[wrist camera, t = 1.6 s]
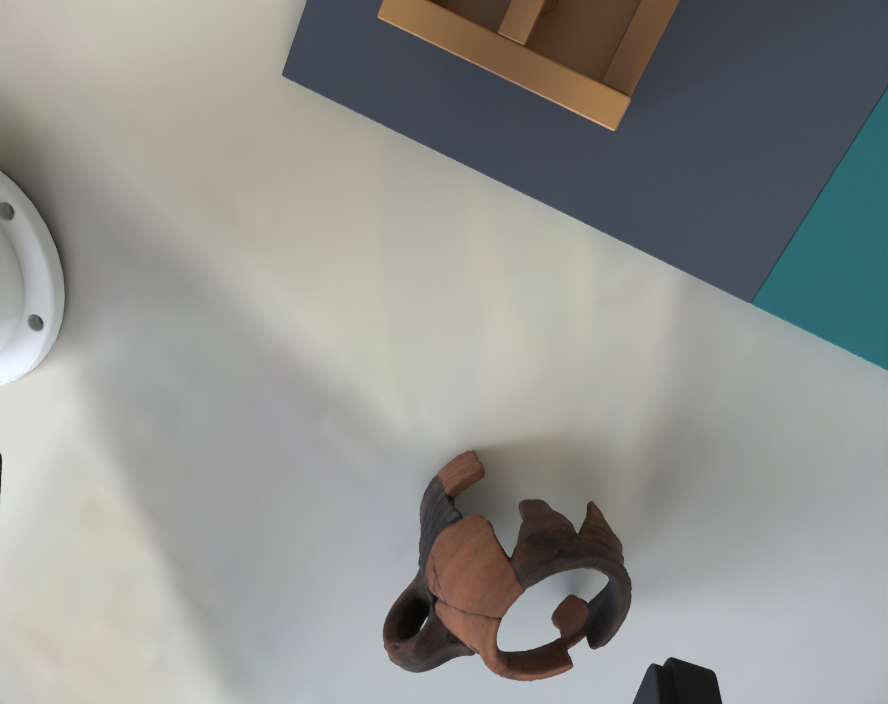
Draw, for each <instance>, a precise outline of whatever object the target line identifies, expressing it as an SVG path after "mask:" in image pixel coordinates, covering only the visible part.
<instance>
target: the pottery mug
mask: <svg viewBox="0 0 888 704" xmlns="http://www.w3.org/2000/svg"><path fill="white" fill-rule="evenodd" d="M484 476H485V469H484V467H483V466H482V464H481V462H479V461H478V459H477V456H476V454H475V452H474V451H467V452H465V453H463V454H461V455H459V456H457V457H456V458H455V459H453V460H452V461H451V462H449V463H448V464H447V465H446V466H445V467H444V468H443V469H442V470H441V471H440V472H439V473H438V474H437V476H435V477H434V478H433V480H432V481H431V482H430V484H429V486H428V488H427V489H426V490H425V493H424V496H423V499H422V502H421V506H420V523H421V537H420V542H419V552H420V556H419V562H418V564H419V566H420V568H419V571H418V573H417V575H416V577H415V579H414V580H413V581H412V583H411V584H410V585H409V586H408V587H407V588H406V590H404V591H403V592H402V594H401V595H400V596H399V598H398V599H397V600H396V602H395V603H394V604H393V606H392V608H391V609H390V611H389V613H388V616H387V618H386V620H385V623H384V628H383V640H384V648H385V650H386V651H387V652H388V656H389V658H390V660H391V661H392V662H393V663H395V664H396V665H398V666H400V667H401V668H403V669H404V670H407V671H410V672H415V673H419V672H425V671H428V670H431V669H434V668H436V667H438V666H440V665H442V664H443V663H445V662H447V661H449V660H451V659H453V658H455V657H459V656H472V655H474V654H475V653H477V654H480V655H481V658H482V659H483V661H484V663H485V665H486V666H487V667H488V668H489V669H490V670H491V671H492V672H494V673H495V674H498V675H500V676H501V677H504V678H507V679H512V680H518V681H533V680H537V679H539V680H541V679H544V678H549V677H552V676H555V675H559V674H561V673H564V672H566V671H568V670H569V669H571V668H572V667H573V663H572V660H571V657H570V656H569V654H568V651H567V650H568V649H569V648H571V647H572V646H574V645H576V644H577V643H578V642H580V641H581V640H582V639H583V638H584V637H585V636H586V638H587V641H588V644H589V646H590V648H591V649H594V650H595V649H597V648H599V647H602V646H605V645H606V644H607V643H608V642H609V641H610V640H611V639H612V637H614V635H615V634H616V633H617V631H618V630H619V628H620V626H621V625H622V623H623V622H624V620H625V618H626V615H627V613H628V611H629V608H630V604H631V597H632V596H631V590H632V587H631V579H630V577H629V575H628V573H627V571H626V569H625V567H624V566H623V565H624V558H623V555H622V544H621V543H620V540H619V539H618V538H617V536H616V535H615V534H614V533H613V531H612V530H611V528H610V527H609V525H608V523H607V522H606V520H605V519H604V517H603V514H602V513H601V511H600V510H599V509H598V507H597V506H596V505H595V503H594V502H592V501H590V502H589V503H588V504H587V513H586V518H585V520H584V522H583V524H582V526H581V528H580V531H579V533H578V534H577V533H576V531H575V529H574V526H573V524H572V523H571V522H570V521H569V520H568V519H567V518H566V517H565V516H563V515H562V514H560V513H558V512H556V511H554V510H552V509H551V508H550V506H549V505H548V504H547V503H546V502H545V501H543V500H538V499H533V500H530V499H528V500H523V501H521V502H520V503H519V510H520V514H521V517H522V519H523V522H522V524H521V526H520V531H519V536H518V541H517V544H516V547H515V548H514V551H513V554H512V557H511V558H510V557H509V556H508V555H507V554H506V552H505V551H504V549H503V548H502V546H501V544H500V543H499V541H498V539H497V537H496V535H495V533H494V529H493V526H492V524H491V523H490V521H489V520H487V519H485V518H484V517H482V516H481V515H477V514H473V515H470V516H467V517H466V518H463V516H462V514H461V513H460V512H459V511H458V510H457V508H456V507H455V506H454V498H455V497H457V496H458V495H459V494H460V493H461V492H462V491H463V490H465V489H466V488H467V487H469V486H470V485H472V484H473V483H475V482H476V481H478V480H480V479H481V478H483V477H484ZM579 568H586V569H591V568H592V569H595V570H597V571H601V572H602V573H603V574H605V575H607V576H608V578H609V582H608V584H607V585H606V586H605V588H604V589H603V590H602V591H601V592H600V593H599V594H597V595H596V597H595V598H593V599H592V600H591V601H590V602H589V603H587V602H586V601H585V600H583V599H581V598H578V597H577V596H575V595H572V594H571V595H569V596H568V597H566V598H565V599H564V600H563V601H562V602H561V603H560V604H559V606H558V607H557V609H556V610H555V611H554V613H553V614H552V618H551V619H552V622H553V624H554V626H555V627H556V628H558V629H559V630H560V634H561V638H558V639H556V640H555V641H553V642H551V643H549V644H546V645H544V646H541V647H538V648H535V649H532V650H527V651H515V652H504V651H501V650H499V648H498V647H497V641H496V639H497V632H498V628H499V625H500V623H501V620H502V617H503V616H504V615H505V614H506V612H507V610H508V609H509V608H510V606H511V605H512V604H513V603H514V602H515V601H516V600H517V598H518V597H519V596H520V595H522V594H523V593H524V592H525V590H526V589H527V588H528V587H531V586H533V585H534V584H536V583H538V582H539V581H541V580H543V579H545V578H547V577H549V576H551V575H554V574H556V573H559V572H563V571H568V570H572V569H579ZM427 617H428V619H427V621H426V623H425V625H424V627H423V628H422V629H421V627H422V625H423V623H424V621H425V620H426V618H427ZM420 629H421V630H420Z"/></svg>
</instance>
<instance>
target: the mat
mask: <svg viewBox="0 0 888 704" xmlns="http://www.w3.org/2000/svg"><path fill="white" fill-rule="evenodd" d="M382 2H383V0H307V2H306V5H305V8H304V11H303V14H302V17H301V20H300V23H299V26H298V29H297V32H296V35H295V38H294V41H293V43H292V46H291V49H290V52H289V55H288V58H287V61H286V64H285V67H284V70H283V73H282V76H283V77H285V78H287V79H289V80H292V81H294V82H296V83H298V84H300V85H302V86H304V87H306V88H308V89H310V90H312V91H314V92H316V93H318V94H320V95H322V96H324V97H326V98H329V99H331V100H333V101H335V102H337V103H339V104H341V105H343V106H345V107H347V108H349V109H351V110H353V111H355V112H357V113H359V114H361V115H363V116H366V117H368V118H370V119H372V120H374V121H376V122H378V123H380V124H382V125H384V126H386V127H388V128H390V129H392V130H394V131H396V132H398V133H400V134H403V135H405V136H407V137H409V138H411V139H413V140H415V141H417V142H419V143H421V144H423V145H425V146H427V147H429V148H431V149H433V150H435V151H437V152H440V153H442V154H444V155H446V156H448V157H450V158H452V159H454V160H456V161H458V162H460V163H462V164H464V165H466V166H468V167H470V168H472V169H474V170H477V171H479V172H481V173H483V174H485V175H487V176H489V177H491V178H493V179H495V180H497V181H499V182H501V183H503V184H505V185H507V186H509V187H511V188H514V189H516V190H518V191H520V192H522V193H524V194H526V195H528V196H530V197H532V198H534V199H536V200H538V201H540V202H542V203H544V204H546V205H548V206H551V207H553V208H555V209H557V210H559V211H561V212H563V213H565V214H567V215H569V216H571V217H573V218H575V219H577V220H579V221H581V222H583V223H585V224H588V225H590V226H592V227H594V228H596V229H598V230H600V231H602V232H604V233H606V234H608V235H610V236H612V237H614V238H616V239H618V240H620V241H622V242H625V243H627V244H629V245H631V246H633V247H635V248H637V249H639V250H641V251H643V252H645V253H647V254H649V255H651V256H653V257H655V258H657V259H659V260H662V261H664V262H666V263H668V264H670V265H672V266H674V267H676V268H678V269H680V270H682V271H684V272H686V273H688V274H690V275H692V276H694V277H696V278H699V279H701V280H703V281H705V282H707V283H709V284H711V285H713V286H715V287H717V288H719V289H721V290H723V291H725V292H727V293H729V294H731V295H733V296H736V297H738V298H740V299H742V300H744V301H746V302H748V303H751V304H752V305H754V306H756V307H758V308H760V309H762V310H764V311H766V312H768V313H771V314H773V315H775V316H777V317H779V318H781V319H783V320H785V321H787V322H789V323H791V324H793V325H795V326H797V327H799V328H801V329H803V330H805V331H808V332H810V333H812V334H814V335H816V336H818V337H820V338H822V339H824V340H826V341H828V342H830V343H832V344H834V345H836V346H838V347H840V348H842V349H845V350H847V351H849V352H851V353H853V354H855V355H857V356H859V357H861V358H863V359H865V360H867V361H869V362H871V363H873V364H875V365H877V366H879V367H882V368H884V369H886V370H888V0H680V1H679V3H678V5H677V7H676V9H675V11H674V13H673V15H672V17H671V19H670V21H669V23H668V25H667V27H666V29H665V31H664V33H663V35H662V36H661V38H660V40H659V42H658V44H657V46H656V48H655V50H654V52H653V54H652V56H651V58H650V60H649V62H648V64H647V66H646V68H645V70H644V72H643V74H642V76H641V78H640V80H639V81H638V83H637V85H636V87H635V89H634V91H633V93H632V95H631V96H630V98H631V102H630V104H629V106H628V107H627V109H626V111H625V113H624V115H623V117H622V119H621V121H620V123H619V125H618V127H617V129H616V130H615V131H612V130H610V129H608V128H605V127H603V126H601V125H599V124H597V123H595V122H593V121H591V120H589V119H587V118H585V117H583V116H581V115H579V114H576V113H574V112H572V111H570V110H568V109H566V108H564V107H562V106H560V105H558V104H556V103H554V102H552V101H549V100H547V99H545V98H543V97H541V96H539V95H537V94H535V93H533V92H531V91H529V90H527V89H525V88H522V87H520V86H518V85H516V84H514V83H512V82H510V81H508V80H506V79H504V78H502V77H500V76H498V75H496V74H493V73H491V72H489V71H487V70H485V69H483V68H481V67H479V66H477V65H475V64H473V63H471V62H469V61H466V60H464V59H462V58H460V57H458V56H456V55H454V54H452V53H450V52H448V51H446V50H444V49H442V48H440V47H437V46H435V45H433V44H431V43H429V42H427V41H425V40H423V39H421V38H419V37H417V36H415V35H413V34H410V33H408V32H406V31H404V30H402V29H400V28H398V27H396V26H394V25H392V24H390V23H388V22H386V21H384V20H381V19H379V18H378V12H379V10H380V7H381V4H382Z"/></svg>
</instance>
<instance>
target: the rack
mask: <svg viewBox="0 0 888 704" xmlns="http://www.w3.org/2000/svg"><path fill="white" fill-rule="evenodd" d="M679 1H680V0H383V2H382V4H381V7H380V10H379V12H378V18H379V19H381V20H384V21H386V22H388V23H390V24H392V25H394V26H396V27H398V28H400V29H402V30H404V31H406V32H408V33H410V34H413V35H415V36H417V37H419V38H421V39H423V40H425V41H427V42H429V43H431V44H433V45H435V46H437V47H440V48H442V49H444V50H446V51H448V52H450V53H452V54H454V55H456V56H458V57H460V58H462V59H464V60H466V61H469V62H471V63H473V64H475V65H477V66H479V67H481V68H483V69H485V70H487V71H489V72H491V73H493V74H496V75H498V76H500V77H502V78H504V79H506V80H508V81H510V82H512V83H514V84H516V85H518V86H520V87H522V88H525V89H527V90H529V91H531V92H533V93H535V94H537V95H539V96H541V97H543V98H545V99H547V100H549V101H552V102H554V103H556V104H558V105H560V106H562V107H564V108H566V109H568V110H570V111H572V112H574V113H576V114H579V115H581V116H583V117H585V118H587V119H589V120H591V121H593V122H595V123H597V124H599V125H601V126H603V127H605V128H608V129H610V130H612V131H615V130H616V129H617V127H618V125H619V123H620V121H621V119H622V117H623V115H624V113H625V111H626V109H627V107H628V106H629V104H630V102H631V98H630V96H631V95H632V93H633V91H634V89H635V87H636V85H637V83H638V81H639V80H640V78H641V76H642V74H643V72H644V70H645V68H646V66H647V64H648V62H649V60H650V58H651V56H652V54H653V52H654V50H655V48H656V46H657V44H658V42H659V40H660V38H661V36H662V35H663V33H664V31H665V29H666V27H667V25H668V23H669V21H670V19H671V17H672V15H673V13H674V11H675V9H676V7H677V5H678V3H679Z"/></svg>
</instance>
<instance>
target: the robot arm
mask: <svg viewBox="0 0 888 704" xmlns="http://www.w3.org/2000/svg"><path fill="white" fill-rule="evenodd" d="M64 303H65V290H64V277H63V271H62V267H61V263H60V259H59V255H58V251H57V249H56V246H55V244H54V241H53V239H52V237H51V234H50V232H49V230H48V227H47V226H46V224H45V222H44V221H43V219H42V217H41V216H40V214H39V213H38V211H37V209H36V208H35V206H34V205H33V203H32V202H31V201H30V200H29V199H28V197H27V196H26V195H25V194H24V193H23V192H22V190H21V189H20V188H19V187H18V186H17V185H16V184H15V183H14V182H13V181H12V180H11V179H10V178H8V177H7V176H6V175H5V174H4V173H3V172H1V171H0V386H3V385H5V384H7V383H9V382H12V381H14V380H16V379H18V378H20V377H21V376H23V375H25V374H26V373H28V372H30V371H31V370H33V369H34V368H35V367H36V366H37V365H38V364H39V363H40V362H41V361H42V360H43V359H44V358H45V357H46V356H47V354H48V352H49V351H50V349H51V347H52V346H53V344H54V342H55V341H56V339H57V336H58V332H59V329H60V326H61V323H62V320H63V312H64ZM1 471H2V456H1V454H0V492H1ZM633 704H722V700H721V696H720V691H719V686H718V681H717V678H716V675H715V673H714V672H713V671H712V670H710V669H707V668H704V667H701V666H697V665H694V664H691V663H688V662H685V661H682V660H679V659H676V658H673V657H671V658H668V659H667V660H666V662H665V663H664V665H663V666H660V665H657V664H654V663H653V664H651V665H650V666H649V667H648V669H647V671H646V674H645V676H644V678H643V681H642V683H641V685H640V688H639V690H638V692H637V695H636V697H635V699H634V702H633Z"/></svg>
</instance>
